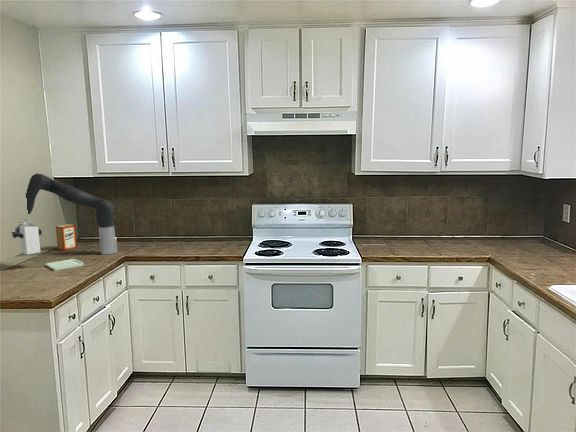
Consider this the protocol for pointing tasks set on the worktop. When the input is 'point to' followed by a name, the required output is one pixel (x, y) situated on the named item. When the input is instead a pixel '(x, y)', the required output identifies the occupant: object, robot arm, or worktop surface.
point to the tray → (64, 264)
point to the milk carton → (29, 238)
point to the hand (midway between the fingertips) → (30, 235)
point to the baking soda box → (66, 237)
